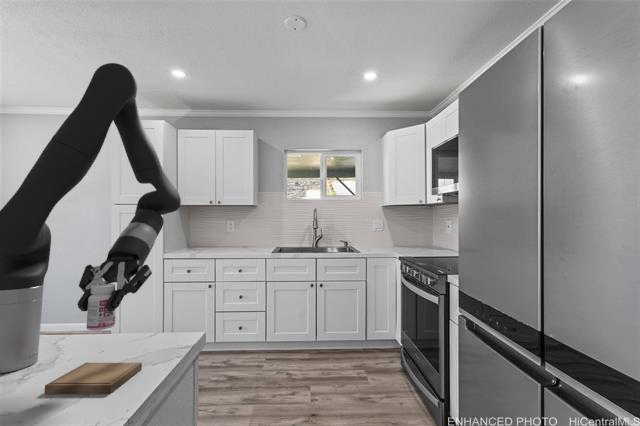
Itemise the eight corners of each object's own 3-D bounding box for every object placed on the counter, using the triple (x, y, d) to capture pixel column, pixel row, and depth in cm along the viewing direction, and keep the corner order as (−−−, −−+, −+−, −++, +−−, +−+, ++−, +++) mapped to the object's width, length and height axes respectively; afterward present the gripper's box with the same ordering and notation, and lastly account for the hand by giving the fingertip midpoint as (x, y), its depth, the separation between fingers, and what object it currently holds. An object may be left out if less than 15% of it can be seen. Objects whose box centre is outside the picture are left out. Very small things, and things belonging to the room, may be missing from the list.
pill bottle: (100, 331, 59) (102, 287, 60) (80, 330, 60) (82, 286, 60) (121, 324, 64) (122, 283, 64) (102, 323, 65) (103, 283, 65)
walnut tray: (44, 393, 56) (45, 384, 56) (85, 369, 66) (85, 362, 66) (110, 393, 56) (111, 384, 56) (141, 369, 66) (141, 361, 66)
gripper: (96, 234, 70) (47, 298, 57) (159, 234, 71) (124, 298, 58) (110, 255, 75) (68, 319, 62) (169, 255, 76) (139, 319, 63)
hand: (95, 308), depth 60 cm, fingers closed on pill bottle, 4 cm apart
